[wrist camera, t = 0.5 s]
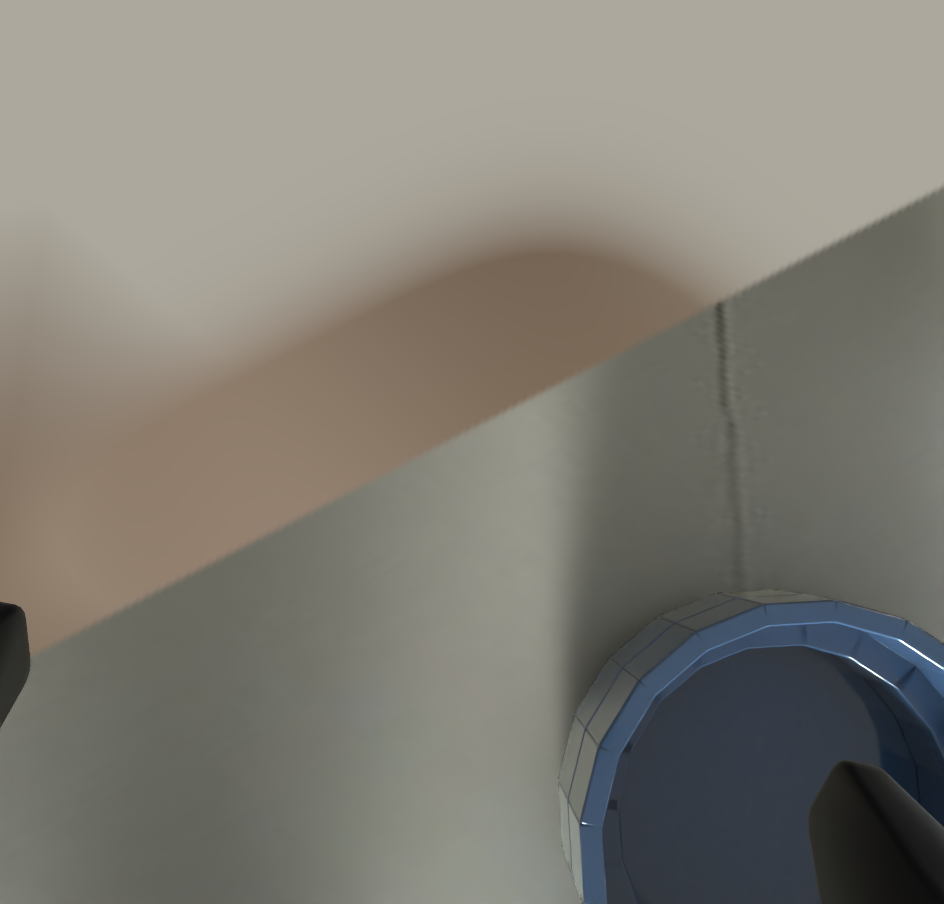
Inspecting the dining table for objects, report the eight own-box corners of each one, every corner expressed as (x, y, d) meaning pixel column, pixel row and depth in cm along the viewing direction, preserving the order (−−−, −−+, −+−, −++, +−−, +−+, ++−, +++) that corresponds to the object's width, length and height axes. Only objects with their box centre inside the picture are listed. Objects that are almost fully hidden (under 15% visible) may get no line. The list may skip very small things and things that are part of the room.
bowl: (1014, 909, 23) (1136, 990, 19) (646, 1075, 22) (692, 1196, 18) (856, 531, 24) (939, 532, 20) (497, 675, 23) (509, 706, 19)
